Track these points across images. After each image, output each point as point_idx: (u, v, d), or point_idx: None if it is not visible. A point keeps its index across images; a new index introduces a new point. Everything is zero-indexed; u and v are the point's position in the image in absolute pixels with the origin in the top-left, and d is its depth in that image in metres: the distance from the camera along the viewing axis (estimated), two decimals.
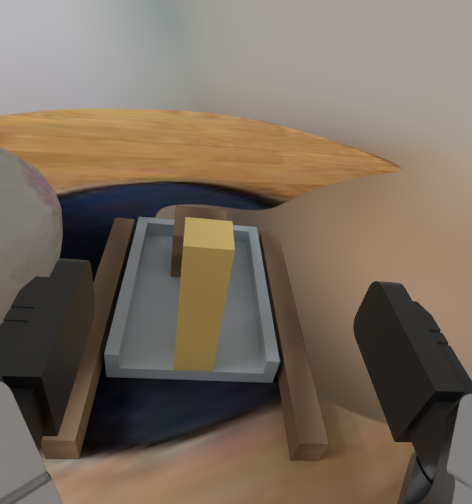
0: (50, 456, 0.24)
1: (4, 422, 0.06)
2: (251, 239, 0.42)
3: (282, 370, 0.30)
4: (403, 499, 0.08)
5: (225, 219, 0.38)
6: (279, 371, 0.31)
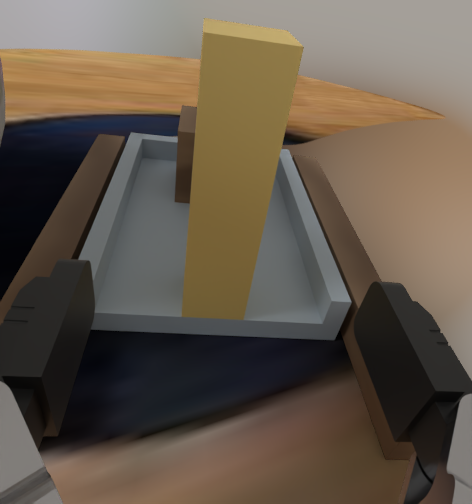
0: None
1: (4, 422, 0.06)
2: (283, 161, 0.31)
3: (353, 319, 0.19)
4: (403, 499, 0.08)
5: None
6: (345, 322, 0.20)
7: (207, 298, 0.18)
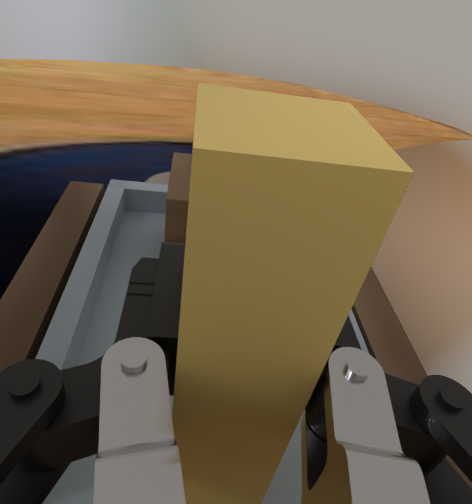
0: None
1: (162, 372, 0.07)
2: None
3: None
4: (305, 470, 0.08)
5: None
6: None
7: (204, 492, 0.11)
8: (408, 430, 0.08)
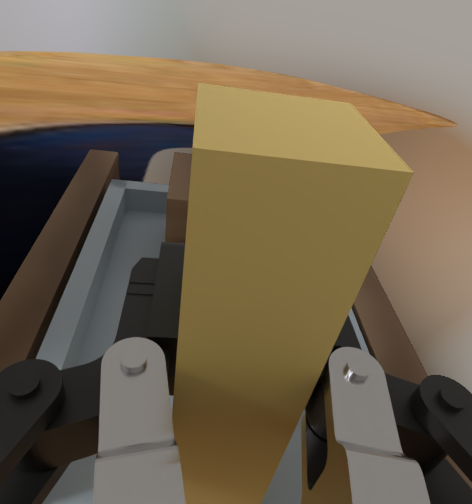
0: None
1: (162, 372, 0.07)
2: None
3: None
4: (306, 470, 0.08)
5: None
6: None
7: (204, 492, 0.11)
8: (408, 430, 0.08)
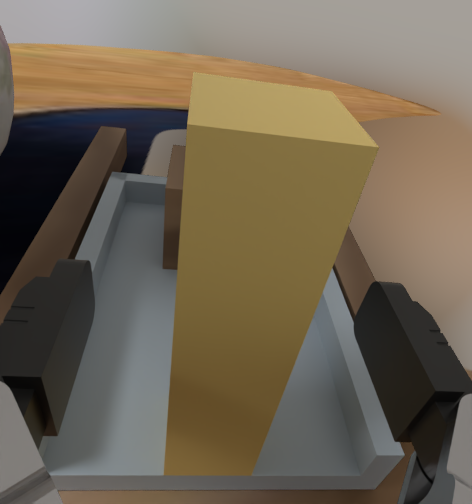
0: None
1: (4, 422, 0.06)
2: None
3: None
4: (403, 499, 0.08)
5: None
6: None
7: (200, 457, 0.12)
8: None
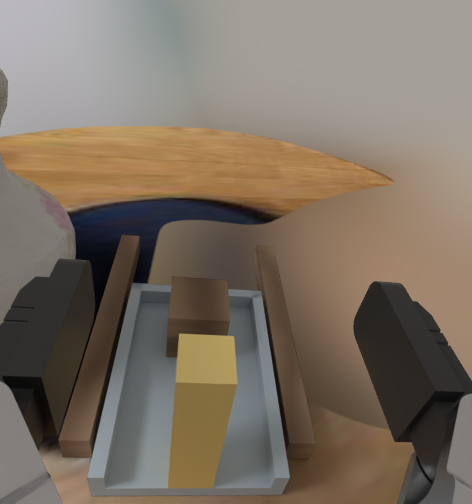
0: (66, 455, 0.27)
1: (4, 422, 0.06)
2: (255, 307, 0.38)
3: (276, 377, 0.33)
4: (403, 499, 0.08)
5: (226, 292, 0.34)
6: None
7: (185, 479, 0.25)
8: None
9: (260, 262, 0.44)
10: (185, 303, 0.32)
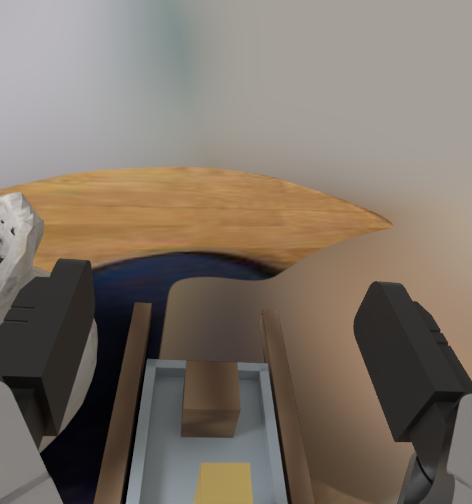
0: None
1: (4, 422, 0.06)
2: (262, 382, 0.41)
3: (282, 457, 0.36)
4: (403, 499, 0.08)
5: (236, 377, 0.37)
6: None
7: None
8: None
9: (266, 329, 0.47)
10: (199, 391, 0.35)
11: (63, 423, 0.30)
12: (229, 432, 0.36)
